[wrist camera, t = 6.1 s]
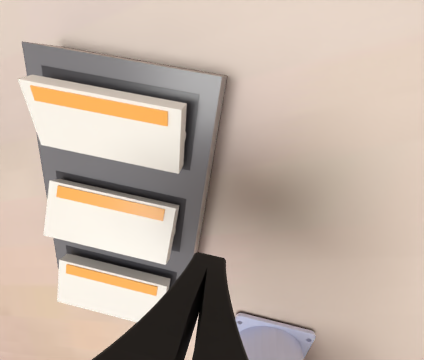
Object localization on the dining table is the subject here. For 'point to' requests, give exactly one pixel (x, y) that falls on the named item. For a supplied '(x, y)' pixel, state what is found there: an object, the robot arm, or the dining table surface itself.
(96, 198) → the rocker middle
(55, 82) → the rocker
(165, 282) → the rocker
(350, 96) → the dining table surface
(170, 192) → the switch panel
